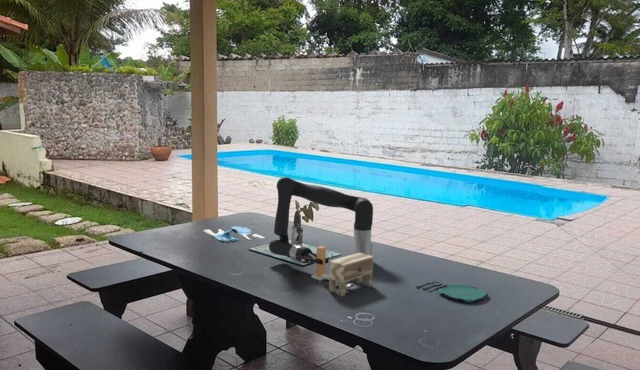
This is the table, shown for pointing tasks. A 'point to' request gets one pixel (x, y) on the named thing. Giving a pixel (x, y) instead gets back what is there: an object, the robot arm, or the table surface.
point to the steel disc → (350, 286)
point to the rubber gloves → (227, 237)
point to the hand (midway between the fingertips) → (325, 261)
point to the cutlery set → (459, 292)
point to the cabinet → (350, 271)
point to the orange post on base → (322, 266)
